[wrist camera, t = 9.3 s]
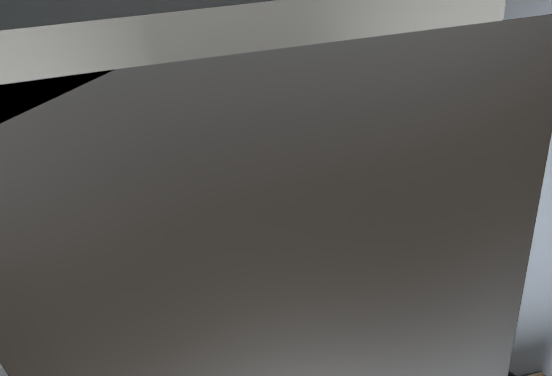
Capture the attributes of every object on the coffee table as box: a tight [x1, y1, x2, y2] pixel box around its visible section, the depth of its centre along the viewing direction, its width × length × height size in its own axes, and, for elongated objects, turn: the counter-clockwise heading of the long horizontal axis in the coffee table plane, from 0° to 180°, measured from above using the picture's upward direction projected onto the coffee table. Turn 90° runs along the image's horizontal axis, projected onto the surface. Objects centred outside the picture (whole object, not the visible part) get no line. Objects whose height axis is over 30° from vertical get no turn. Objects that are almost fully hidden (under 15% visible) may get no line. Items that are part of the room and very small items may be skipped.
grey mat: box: [0, 0, 506, 85], centre depth 11 cm, size 16×16×1 cm
